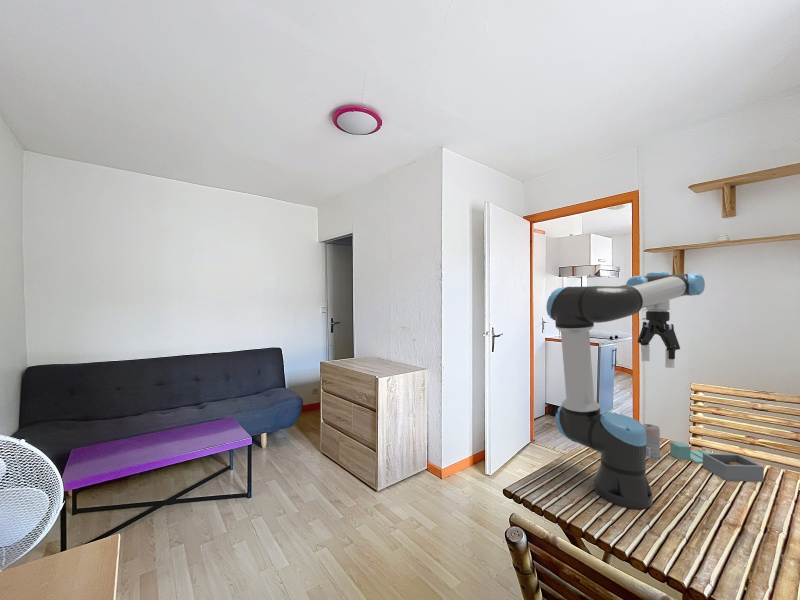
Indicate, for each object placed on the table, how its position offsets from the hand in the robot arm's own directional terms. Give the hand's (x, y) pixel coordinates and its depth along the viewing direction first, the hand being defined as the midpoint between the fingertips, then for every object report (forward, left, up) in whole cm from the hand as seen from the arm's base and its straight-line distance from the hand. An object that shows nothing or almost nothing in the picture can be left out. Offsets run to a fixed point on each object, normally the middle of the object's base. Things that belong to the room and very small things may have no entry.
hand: (657, 364), depth 135 cm
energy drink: (-6, -6, -35) cm, 36 cm away
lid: (+11, -6, -35) cm, 37 cm away
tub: (+13, -18, -35) cm, 41 cm away
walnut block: (+15, -17, -34) cm, 41 cm away
